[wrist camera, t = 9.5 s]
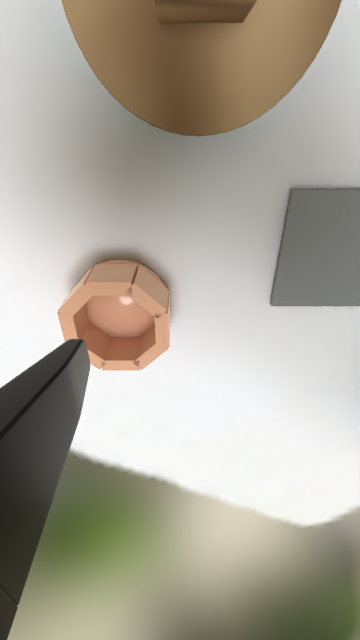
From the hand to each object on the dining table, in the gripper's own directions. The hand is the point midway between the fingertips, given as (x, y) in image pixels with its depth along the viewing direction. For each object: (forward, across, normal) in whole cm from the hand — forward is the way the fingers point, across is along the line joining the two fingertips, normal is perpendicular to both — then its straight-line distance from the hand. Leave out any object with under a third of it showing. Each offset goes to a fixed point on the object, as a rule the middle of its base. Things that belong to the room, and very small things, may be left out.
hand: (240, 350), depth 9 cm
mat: (+13, -10, +2) cm, 17 cm away
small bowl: (+13, +6, +6) cm, 16 cm away
